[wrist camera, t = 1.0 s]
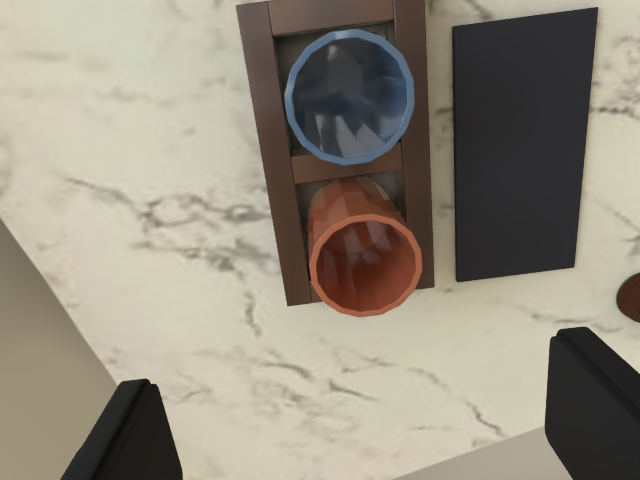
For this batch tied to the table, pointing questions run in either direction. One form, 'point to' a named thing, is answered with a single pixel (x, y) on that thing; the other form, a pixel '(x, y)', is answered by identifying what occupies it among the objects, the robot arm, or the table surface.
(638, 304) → the chess piece
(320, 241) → the cup
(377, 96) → the cup
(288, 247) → the holder
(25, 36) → the table surface
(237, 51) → the table surface
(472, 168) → the placemat
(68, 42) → the table surface
